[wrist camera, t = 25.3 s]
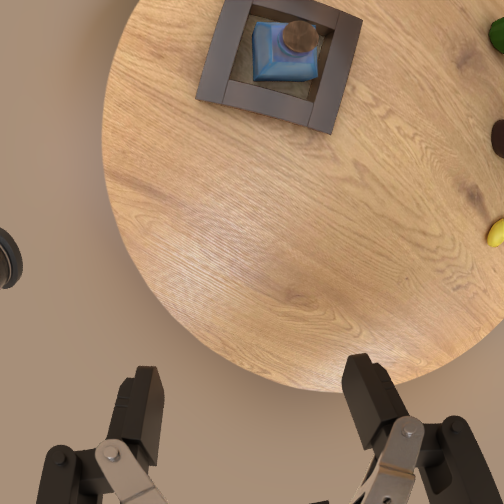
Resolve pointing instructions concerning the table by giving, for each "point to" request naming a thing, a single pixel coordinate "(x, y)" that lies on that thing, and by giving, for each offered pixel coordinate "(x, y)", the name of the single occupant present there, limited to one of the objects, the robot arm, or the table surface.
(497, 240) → the lemon
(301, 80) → the perfume bottle
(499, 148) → the wine bottle
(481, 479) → the robot arm
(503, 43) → the bell pepper
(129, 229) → the table surface
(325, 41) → the holder
